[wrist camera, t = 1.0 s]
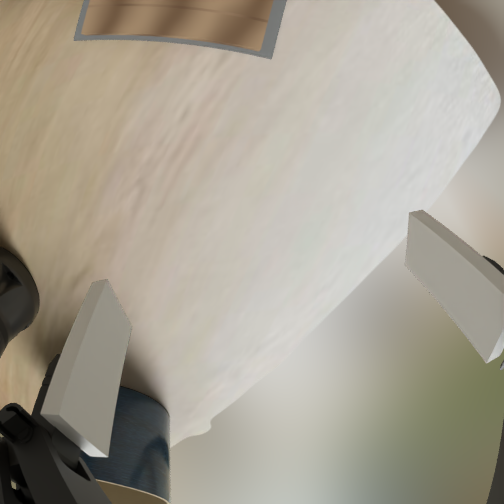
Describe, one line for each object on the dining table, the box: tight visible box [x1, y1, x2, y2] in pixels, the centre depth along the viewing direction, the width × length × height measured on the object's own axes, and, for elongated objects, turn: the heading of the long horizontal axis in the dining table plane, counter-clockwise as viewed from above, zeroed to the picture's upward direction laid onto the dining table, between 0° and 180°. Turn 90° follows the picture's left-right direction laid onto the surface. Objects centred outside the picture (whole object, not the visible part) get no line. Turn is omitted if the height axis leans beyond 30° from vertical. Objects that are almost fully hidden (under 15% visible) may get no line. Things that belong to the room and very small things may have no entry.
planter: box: [79, 386, 171, 504], centre depth 46 cm, size 22×22×20 cm
